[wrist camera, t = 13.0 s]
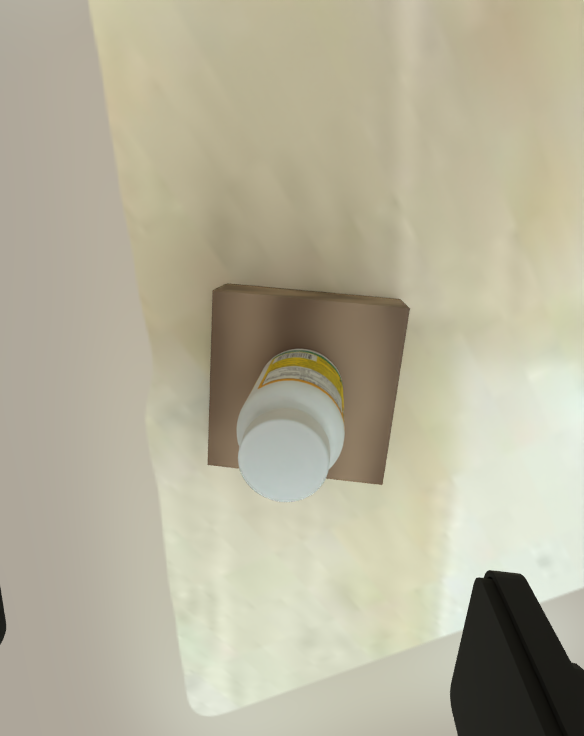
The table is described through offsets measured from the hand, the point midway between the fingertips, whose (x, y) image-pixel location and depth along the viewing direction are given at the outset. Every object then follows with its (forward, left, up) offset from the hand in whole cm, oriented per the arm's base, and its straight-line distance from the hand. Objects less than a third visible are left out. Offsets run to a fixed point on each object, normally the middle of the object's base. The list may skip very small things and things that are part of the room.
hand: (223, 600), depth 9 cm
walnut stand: (0, +3, -25) cm, 25 cm away
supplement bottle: (0, +3, -21) cm, 21 cm away
